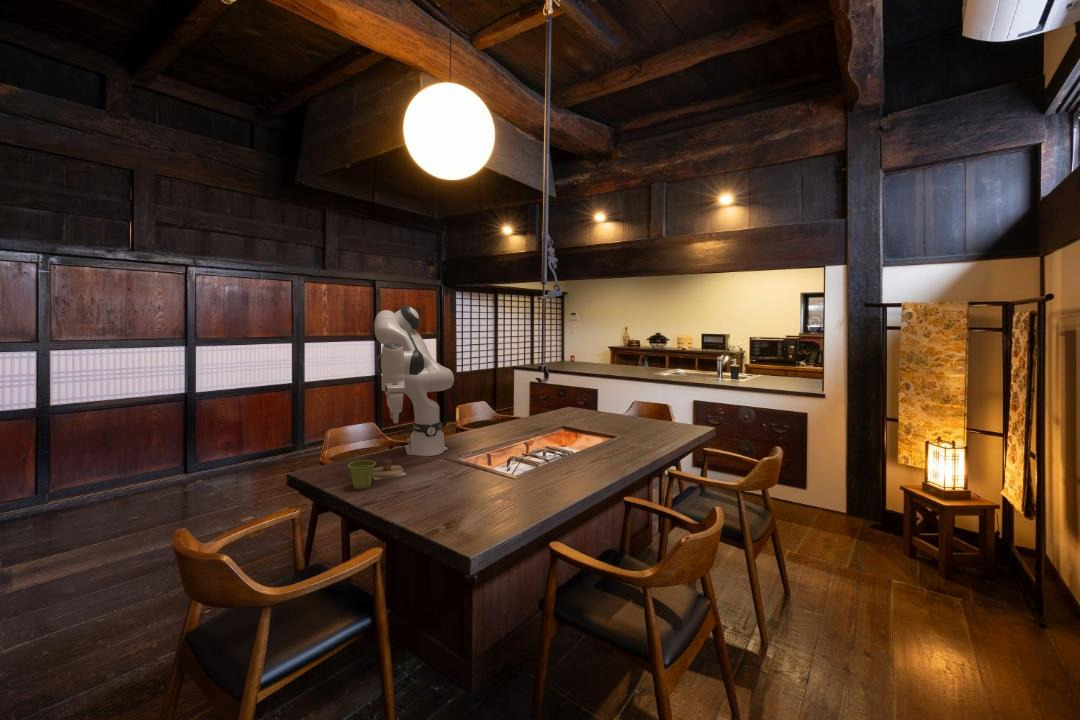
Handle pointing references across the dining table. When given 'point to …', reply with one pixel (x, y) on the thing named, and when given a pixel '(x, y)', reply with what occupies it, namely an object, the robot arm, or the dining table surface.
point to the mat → (389, 477)
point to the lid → (387, 470)
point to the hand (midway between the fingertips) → (394, 420)
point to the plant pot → (361, 473)
